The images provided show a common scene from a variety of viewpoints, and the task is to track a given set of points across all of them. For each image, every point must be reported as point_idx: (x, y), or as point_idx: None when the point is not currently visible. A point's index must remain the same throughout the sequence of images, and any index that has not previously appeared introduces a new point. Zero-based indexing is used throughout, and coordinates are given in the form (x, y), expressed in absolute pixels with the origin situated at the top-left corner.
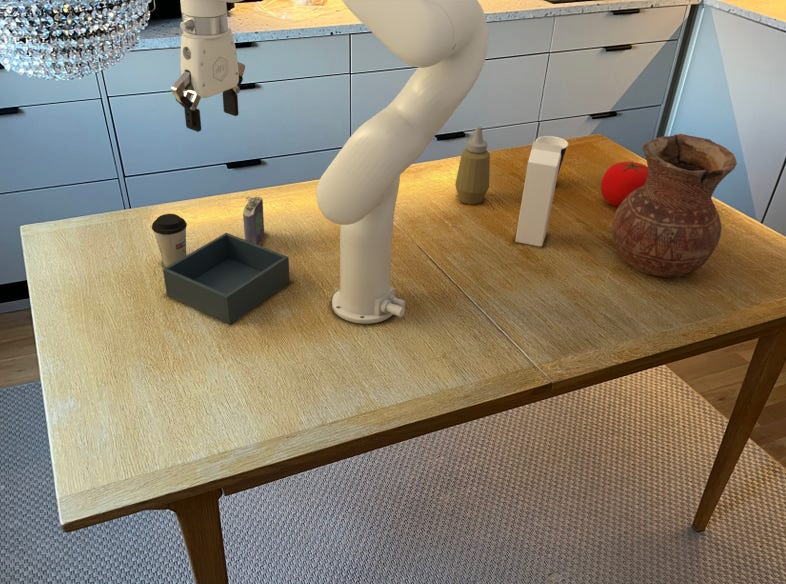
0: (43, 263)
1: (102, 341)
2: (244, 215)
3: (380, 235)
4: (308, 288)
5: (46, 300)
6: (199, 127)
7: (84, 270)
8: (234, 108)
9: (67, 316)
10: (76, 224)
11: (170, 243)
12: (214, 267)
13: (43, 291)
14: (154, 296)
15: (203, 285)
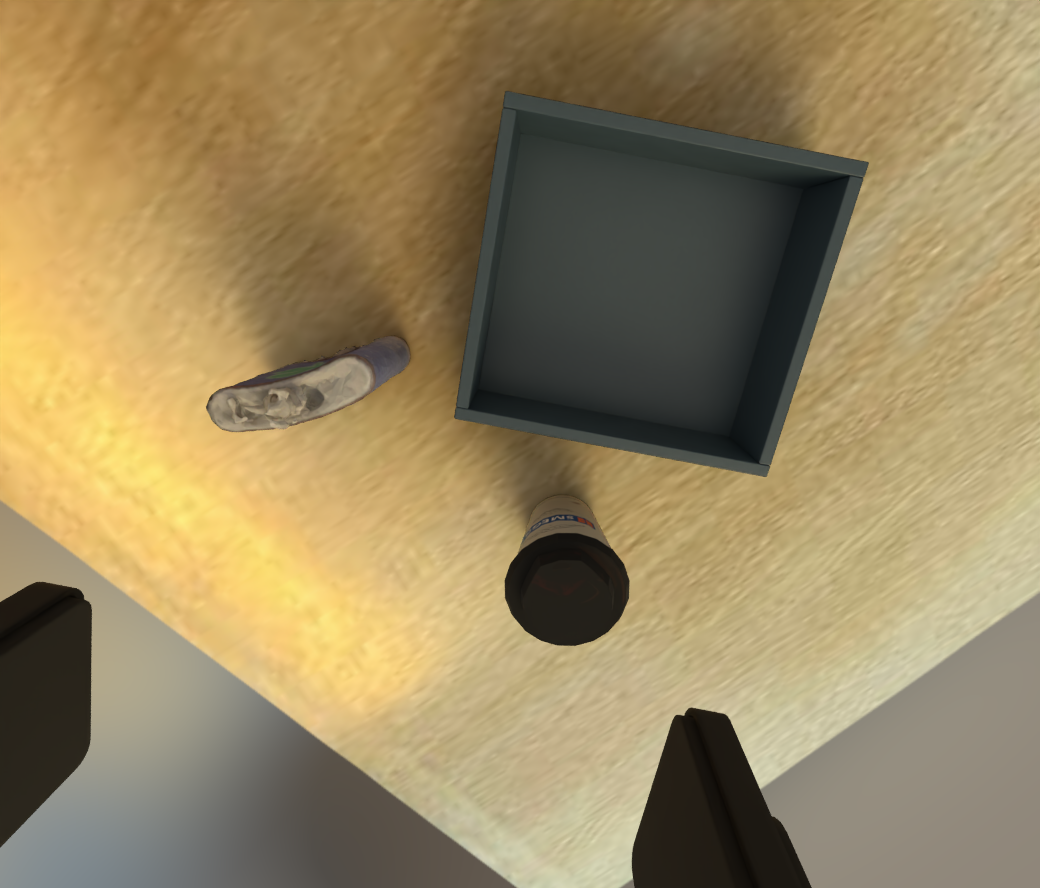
0: None
1: (995, 473)
2: (371, 385)
3: None
4: (513, 34)
5: (858, 701)
6: (729, 740)
7: (697, 705)
8: (9, 659)
9: (910, 617)
10: (505, 845)
11: (608, 544)
12: (548, 399)
13: (823, 730)
14: (747, 476)
15: (819, 290)
